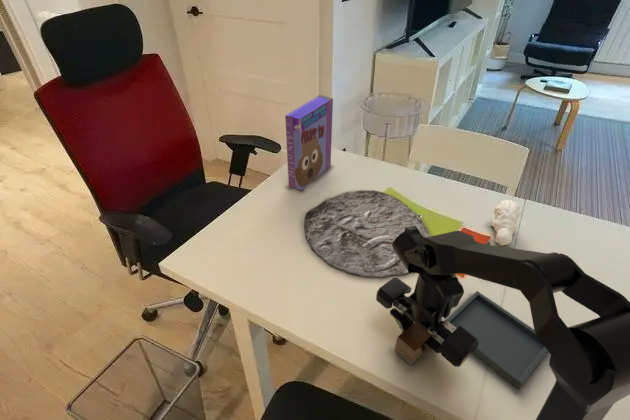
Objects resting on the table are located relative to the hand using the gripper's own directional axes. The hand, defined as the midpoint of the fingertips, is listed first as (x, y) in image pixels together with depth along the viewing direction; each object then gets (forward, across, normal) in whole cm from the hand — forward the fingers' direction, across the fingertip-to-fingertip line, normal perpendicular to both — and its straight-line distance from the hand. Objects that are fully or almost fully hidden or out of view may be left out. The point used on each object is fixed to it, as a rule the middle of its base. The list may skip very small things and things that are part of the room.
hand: (416, 343), depth 73 cm
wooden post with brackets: (+2, +4, -31) cm, 31 cm away
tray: (+1, -9, -14) cm, 17 cm away
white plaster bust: (+2, +6, -44) cm, 44 cm away
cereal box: (+2, +61, -23) cm, 65 cm away
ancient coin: (+1, +30, -18) cm, 35 cm away
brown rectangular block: (+1, 0, 0) cm, 1 cm away
